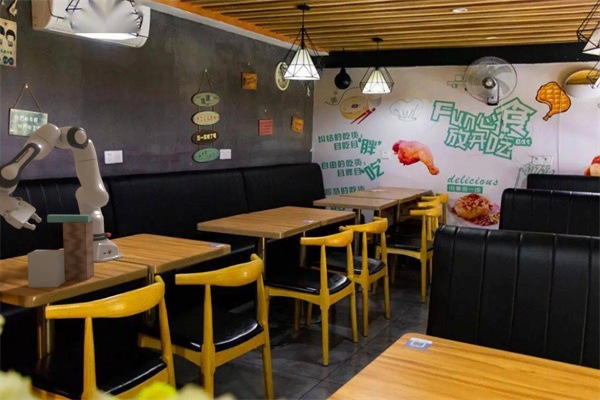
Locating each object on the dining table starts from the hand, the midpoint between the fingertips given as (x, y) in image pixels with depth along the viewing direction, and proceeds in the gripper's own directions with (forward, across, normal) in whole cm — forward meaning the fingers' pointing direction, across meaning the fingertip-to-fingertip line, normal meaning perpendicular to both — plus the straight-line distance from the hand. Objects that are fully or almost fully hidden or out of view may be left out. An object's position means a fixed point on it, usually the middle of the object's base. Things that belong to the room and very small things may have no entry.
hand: (37, 224), depth 255 cm
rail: (+10, -3, -10) cm, 15 cm away
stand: (+28, -8, +8) cm, 31 cm away
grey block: (+18, -19, +13) cm, 29 cm away
